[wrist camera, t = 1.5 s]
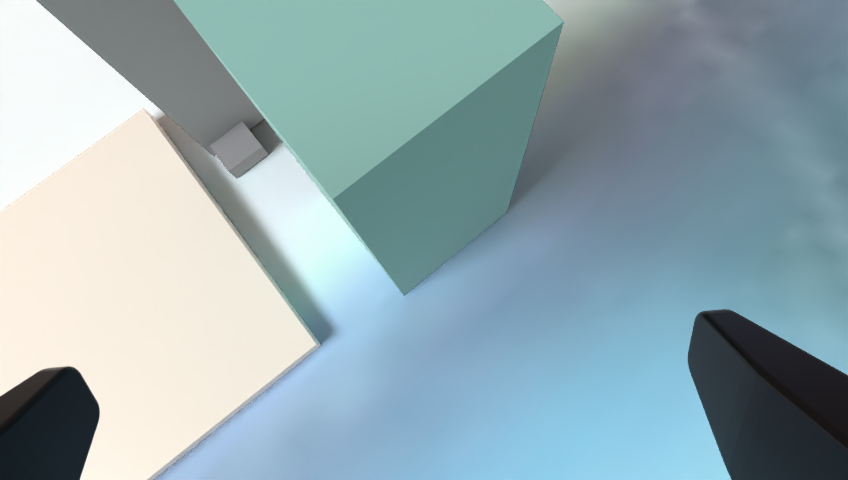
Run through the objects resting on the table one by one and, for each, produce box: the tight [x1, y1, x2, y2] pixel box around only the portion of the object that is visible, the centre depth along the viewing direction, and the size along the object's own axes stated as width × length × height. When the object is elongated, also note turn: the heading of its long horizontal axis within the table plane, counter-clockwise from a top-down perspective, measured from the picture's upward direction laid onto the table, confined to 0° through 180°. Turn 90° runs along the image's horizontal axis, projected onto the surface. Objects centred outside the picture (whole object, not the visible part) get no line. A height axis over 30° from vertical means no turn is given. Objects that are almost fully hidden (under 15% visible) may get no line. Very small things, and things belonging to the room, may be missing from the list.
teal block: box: [174, 0, 564, 295], centre depth 16 cm, size 5×5×12 cm
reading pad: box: [0, 109, 321, 480], centre depth 21 cm, size 12×12×1 cm
